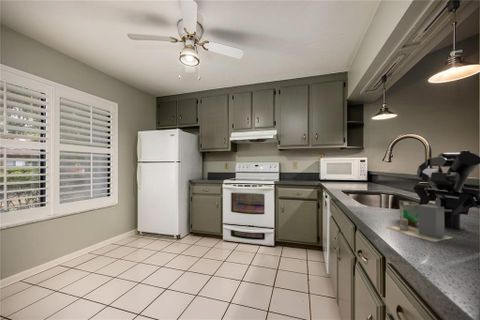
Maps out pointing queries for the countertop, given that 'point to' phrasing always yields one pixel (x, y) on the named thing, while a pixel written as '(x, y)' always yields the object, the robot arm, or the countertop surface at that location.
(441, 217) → the tall gray pillar
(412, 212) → the food container
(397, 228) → the stand board
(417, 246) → the countertop surface
